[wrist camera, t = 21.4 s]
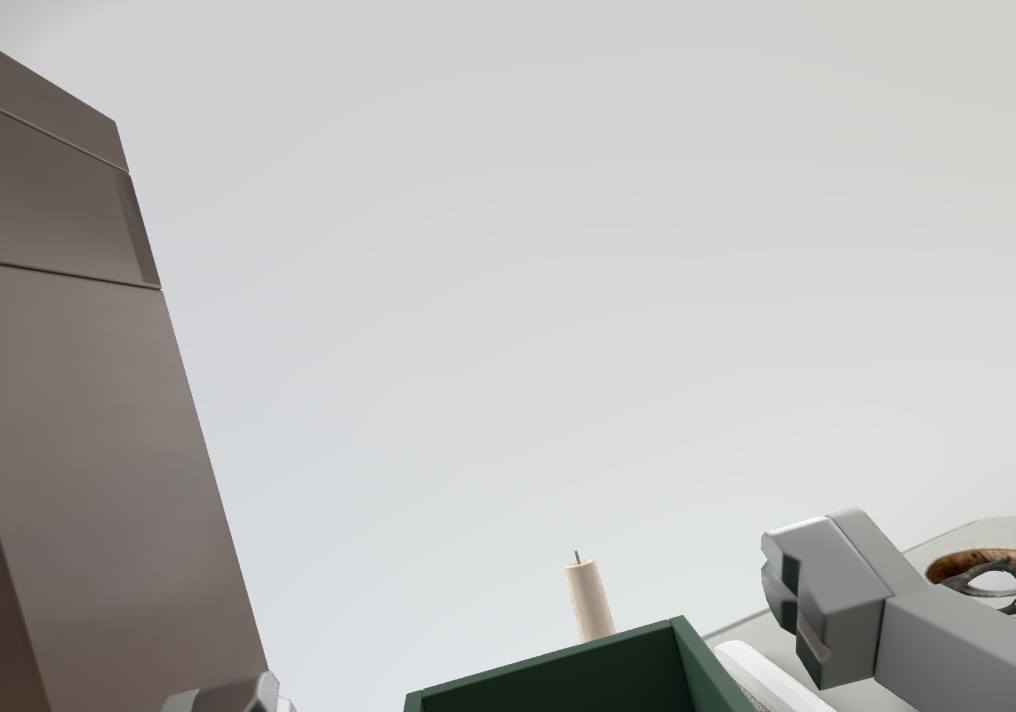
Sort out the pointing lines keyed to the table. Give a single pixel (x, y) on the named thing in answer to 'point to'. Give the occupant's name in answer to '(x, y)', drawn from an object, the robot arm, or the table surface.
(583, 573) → the candle
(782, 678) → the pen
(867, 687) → the table surface
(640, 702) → the bin
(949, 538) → the table surface
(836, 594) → the robot arm
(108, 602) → the stand
